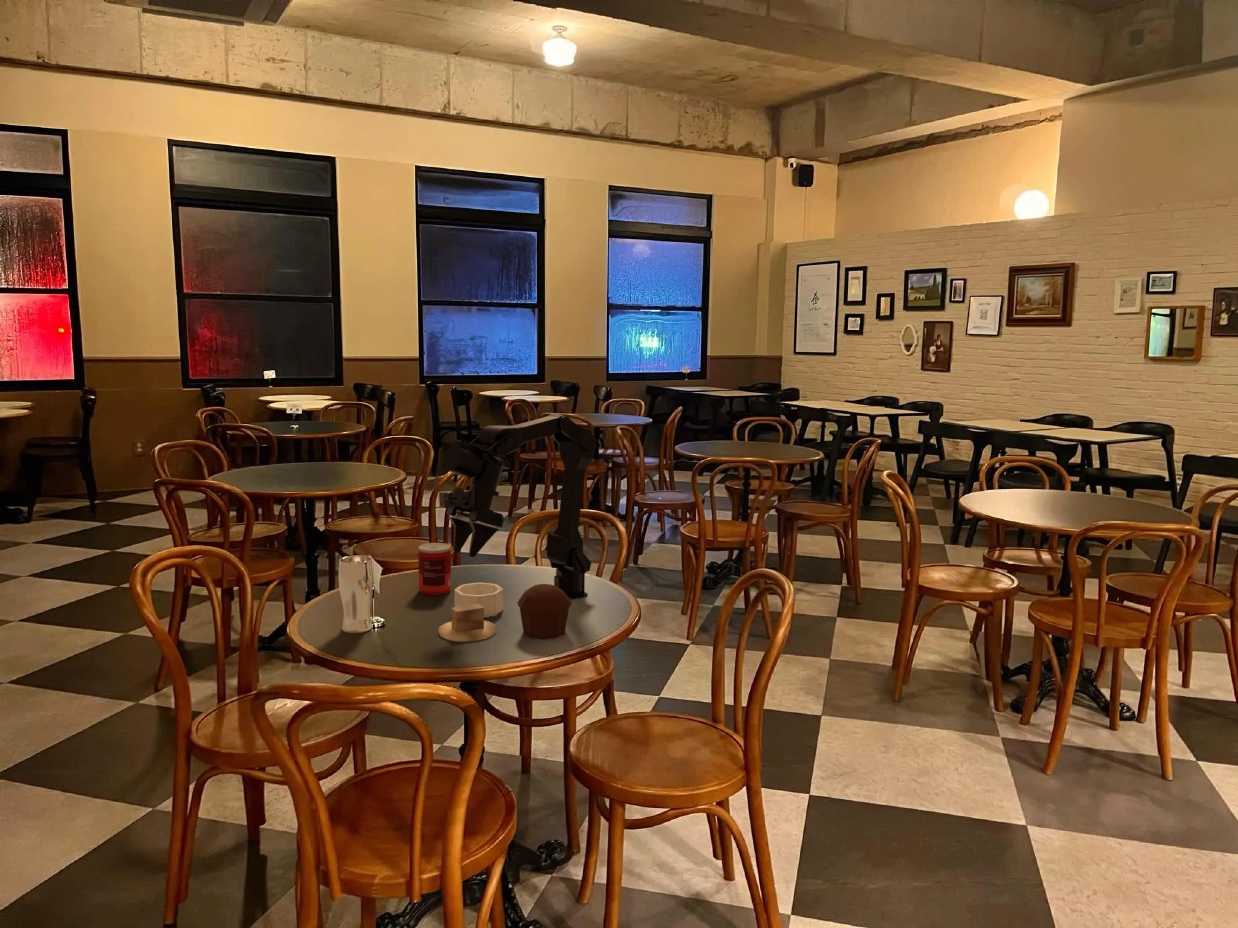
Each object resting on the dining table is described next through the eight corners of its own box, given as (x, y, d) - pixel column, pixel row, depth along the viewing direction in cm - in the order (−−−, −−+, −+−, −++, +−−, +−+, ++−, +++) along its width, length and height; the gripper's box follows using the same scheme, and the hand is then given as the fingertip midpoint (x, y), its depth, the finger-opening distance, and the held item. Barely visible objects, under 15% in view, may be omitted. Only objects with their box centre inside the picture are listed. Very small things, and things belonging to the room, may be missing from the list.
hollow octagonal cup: (491, 601, 205) (491, 580, 204) (508, 613, 196) (508, 592, 196) (450, 607, 200) (449, 586, 199) (465, 620, 191) (465, 598, 191)
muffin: (511, 626, 188) (511, 580, 187) (560, 620, 192) (561, 576, 191) (526, 644, 177) (526, 596, 176) (578, 638, 182) (579, 591, 180)
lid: (484, 620, 193) (484, 596, 192) (505, 637, 182) (505, 611, 181) (431, 628, 187) (430, 603, 186) (449, 646, 176) (449, 620, 176)
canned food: (440, 584, 218) (439, 541, 216) (457, 591, 212) (457, 547, 210) (412, 589, 213) (411, 545, 211) (429, 597, 207) (429, 552, 205)
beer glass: (381, 625, 187) (379, 556, 185) (361, 635, 180) (359, 565, 178) (353, 621, 189) (351, 553, 187) (333, 631, 183) (331, 561, 180)
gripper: (435, 471, 192) (414, 540, 190) (465, 474, 175) (442, 549, 173) (481, 485, 197) (461, 553, 195) (514, 489, 181) (493, 563, 179)
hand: (463, 554), depth 185 cm, fingers open, 9 cm apart
